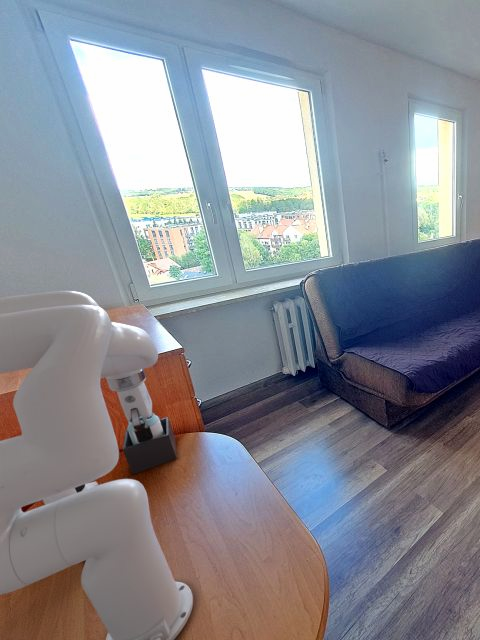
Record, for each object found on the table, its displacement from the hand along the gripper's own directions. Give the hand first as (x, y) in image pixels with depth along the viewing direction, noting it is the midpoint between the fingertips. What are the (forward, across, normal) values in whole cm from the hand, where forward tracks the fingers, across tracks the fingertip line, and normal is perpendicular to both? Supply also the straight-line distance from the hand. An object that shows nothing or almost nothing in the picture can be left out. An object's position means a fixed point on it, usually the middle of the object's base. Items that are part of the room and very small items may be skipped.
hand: (146, 432), depth 95 cm
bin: (+9, 0, 0) cm, 9 cm away
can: (+7, 0, 0) cm, 7 cm away
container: (+9, -16, +14) cm, 23 cm away
